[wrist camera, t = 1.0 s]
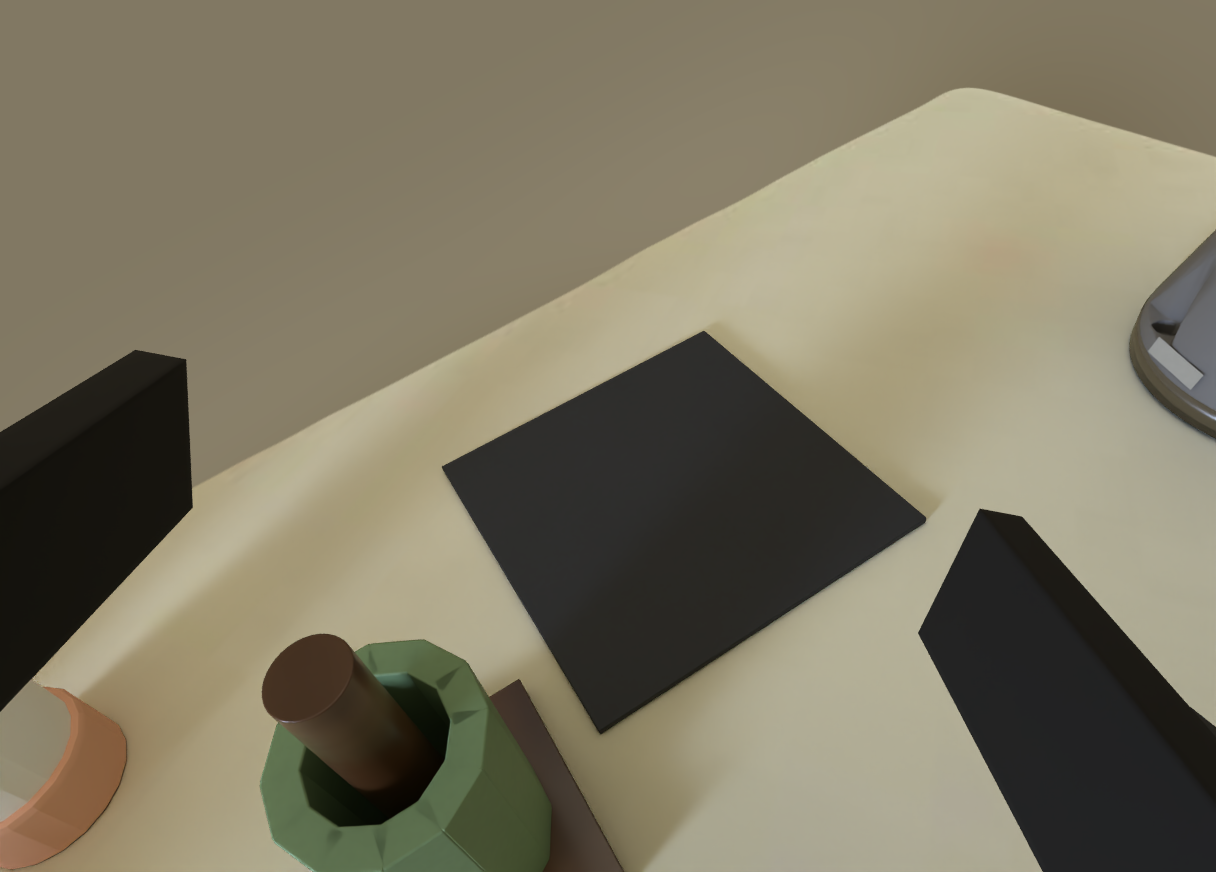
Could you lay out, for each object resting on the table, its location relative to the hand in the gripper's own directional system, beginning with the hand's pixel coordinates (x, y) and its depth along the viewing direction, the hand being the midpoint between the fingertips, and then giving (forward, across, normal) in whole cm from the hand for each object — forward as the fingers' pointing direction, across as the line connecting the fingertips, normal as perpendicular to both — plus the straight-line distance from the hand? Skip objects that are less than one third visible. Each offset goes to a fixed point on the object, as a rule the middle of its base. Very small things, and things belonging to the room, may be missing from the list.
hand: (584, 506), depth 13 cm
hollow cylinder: (+10, -1, -23) cm, 25 cm away
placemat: (+27, +6, -15) cm, 32 cm away
